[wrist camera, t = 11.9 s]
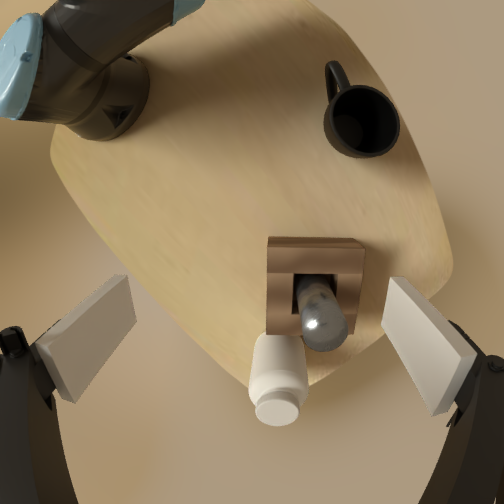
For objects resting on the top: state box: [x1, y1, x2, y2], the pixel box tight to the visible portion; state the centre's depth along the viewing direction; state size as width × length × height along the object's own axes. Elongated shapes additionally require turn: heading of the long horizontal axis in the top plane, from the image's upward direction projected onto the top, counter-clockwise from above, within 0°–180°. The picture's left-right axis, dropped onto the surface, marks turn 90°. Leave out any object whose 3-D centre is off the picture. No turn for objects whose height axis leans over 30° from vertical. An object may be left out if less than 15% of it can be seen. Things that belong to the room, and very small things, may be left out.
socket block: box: [266, 237, 365, 335], centre depth 37 cm, size 12×12×6 cm
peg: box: [294, 273, 349, 352], centre depth 32 cm, size 4×4×14 cm
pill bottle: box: [249, 331, 309, 426], centre depth 36 cm, size 8×8×15 cm
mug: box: [324, 61, 400, 158], centre depth 29 cm, size 8×12×10 cm
